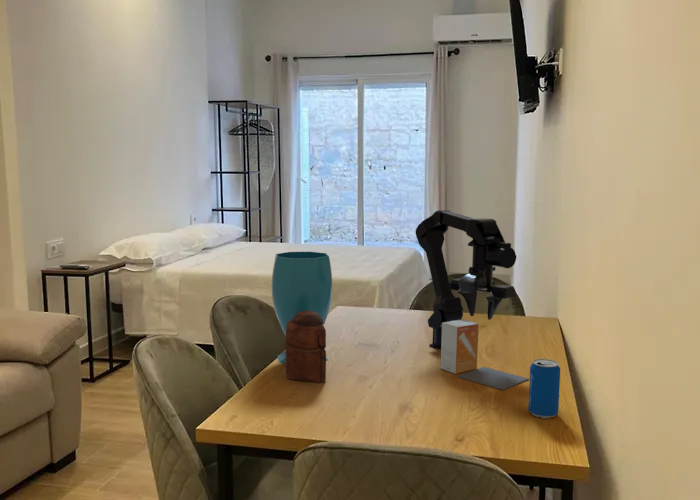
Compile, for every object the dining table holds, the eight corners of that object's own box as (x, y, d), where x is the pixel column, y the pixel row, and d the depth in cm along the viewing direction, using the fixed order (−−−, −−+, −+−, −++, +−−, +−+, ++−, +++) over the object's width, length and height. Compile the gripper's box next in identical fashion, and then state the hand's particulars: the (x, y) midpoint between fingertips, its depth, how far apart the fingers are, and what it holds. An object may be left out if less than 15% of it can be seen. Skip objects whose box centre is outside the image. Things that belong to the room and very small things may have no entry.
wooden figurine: (332, 377, 172) (332, 310, 169) (323, 384, 166) (324, 315, 163) (290, 372, 175) (290, 306, 173) (280, 380, 169) (280, 311, 167)
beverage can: (524, 409, 150) (526, 358, 148) (551, 408, 150) (553, 358, 149) (534, 420, 144) (536, 367, 142) (562, 419, 144) (565, 366, 143)
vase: (336, 365, 182) (336, 258, 178) (273, 368, 179) (272, 259, 175) (327, 348, 199) (328, 250, 195) (270, 350, 196) (270, 251, 192)
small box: (455, 374, 175) (457, 327, 173) (439, 368, 180) (441, 322, 178) (477, 369, 179) (479, 323, 177) (461, 363, 184) (463, 318, 183)
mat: (457, 377, 173) (457, 375, 172) (483, 367, 181) (483, 366, 181) (503, 390, 163) (503, 389, 162) (528, 379, 171) (528, 378, 171)
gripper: (438, 262, 185) (437, 316, 187) (494, 270, 172) (492, 328, 174) (462, 258, 193) (460, 310, 195) (517, 266, 180) (515, 321, 182)
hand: (480, 317), depth 186 cm, fingers open, 6 cm apart
